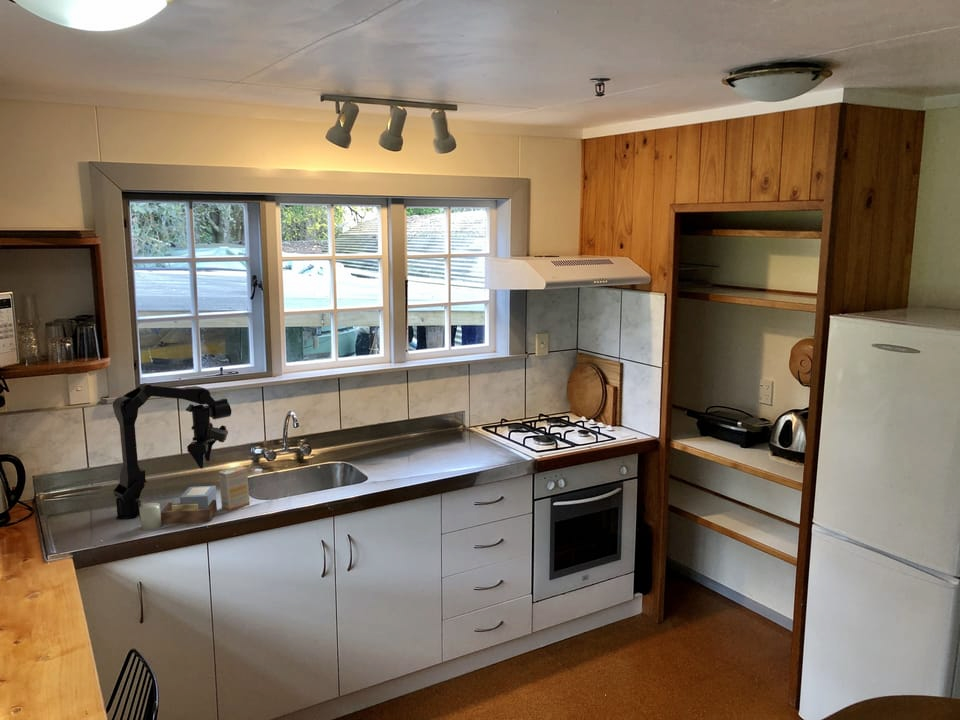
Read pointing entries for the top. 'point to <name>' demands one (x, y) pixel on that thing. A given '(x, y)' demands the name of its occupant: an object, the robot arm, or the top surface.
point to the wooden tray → (187, 513)
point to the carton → (199, 496)
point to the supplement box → (234, 488)
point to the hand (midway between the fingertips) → (205, 464)
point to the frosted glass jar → (150, 516)
